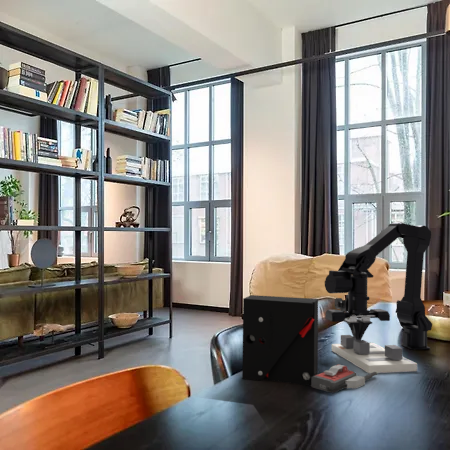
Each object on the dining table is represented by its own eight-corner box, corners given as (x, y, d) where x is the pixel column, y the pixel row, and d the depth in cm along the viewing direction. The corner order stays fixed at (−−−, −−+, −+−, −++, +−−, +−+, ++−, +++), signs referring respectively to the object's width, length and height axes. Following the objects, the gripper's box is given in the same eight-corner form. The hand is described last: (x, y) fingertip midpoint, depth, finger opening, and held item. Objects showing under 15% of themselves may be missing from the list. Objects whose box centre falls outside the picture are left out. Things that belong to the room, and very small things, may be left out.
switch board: (372, 348, 146) (372, 342, 146) (417, 371, 123) (417, 363, 123) (331, 350, 144) (331, 343, 144) (368, 373, 120) (368, 365, 120)
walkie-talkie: (339, 399, 102) (379, 379, 117) (339, 379, 102) (379, 362, 117) (306, 389, 108) (348, 371, 123) (306, 370, 108) (348, 355, 123)
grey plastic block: (349, 344, 142) (349, 334, 142) (355, 347, 138) (355, 337, 138) (340, 344, 141) (340, 335, 141) (346, 348, 137) (346, 337, 137)
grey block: (362, 350, 135) (363, 339, 135) (369, 353, 131) (369, 343, 131) (353, 350, 134) (353, 340, 134) (359, 353, 130) (359, 343, 130)
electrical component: (318, 376, 117) (319, 297, 118) (312, 388, 108) (313, 303, 108) (252, 368, 123) (253, 294, 124) (241, 379, 113) (242, 299, 114)
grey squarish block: (394, 355, 129) (394, 344, 129) (402, 359, 125) (402, 348, 125) (384, 355, 129) (384, 345, 129) (392, 359, 125) (392, 348, 125)
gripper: (372, 289, 150) (372, 337, 149) (318, 289, 147) (318, 338, 146) (390, 293, 139) (390, 345, 138) (333, 293, 136) (332, 346, 135)
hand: (357, 343), depth 140 cm, fingers closed
